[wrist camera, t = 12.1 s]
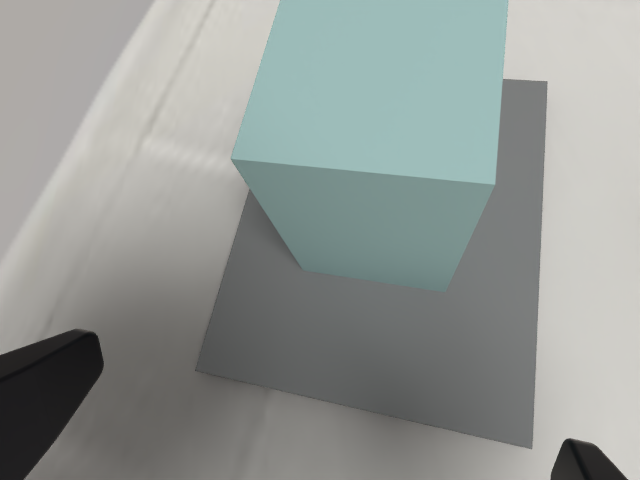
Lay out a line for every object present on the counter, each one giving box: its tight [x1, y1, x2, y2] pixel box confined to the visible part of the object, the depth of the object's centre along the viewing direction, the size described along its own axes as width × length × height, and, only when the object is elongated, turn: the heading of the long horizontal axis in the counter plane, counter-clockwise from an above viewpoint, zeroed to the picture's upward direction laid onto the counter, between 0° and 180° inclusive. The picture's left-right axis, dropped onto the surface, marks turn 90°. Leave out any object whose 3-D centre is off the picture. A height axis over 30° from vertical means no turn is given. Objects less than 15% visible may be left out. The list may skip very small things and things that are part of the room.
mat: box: [195, 79, 547, 449], centre depth 19 cm, size 16×13×1 cm
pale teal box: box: [231, 0, 508, 292], centre depth 15 cm, size 6×6×9 cm
